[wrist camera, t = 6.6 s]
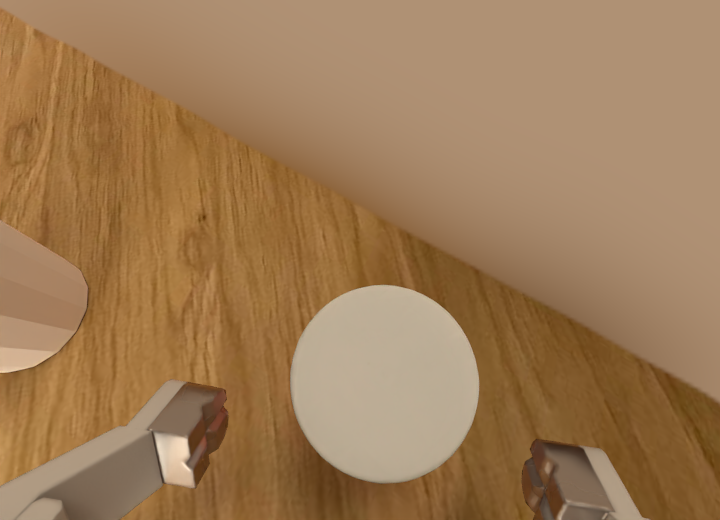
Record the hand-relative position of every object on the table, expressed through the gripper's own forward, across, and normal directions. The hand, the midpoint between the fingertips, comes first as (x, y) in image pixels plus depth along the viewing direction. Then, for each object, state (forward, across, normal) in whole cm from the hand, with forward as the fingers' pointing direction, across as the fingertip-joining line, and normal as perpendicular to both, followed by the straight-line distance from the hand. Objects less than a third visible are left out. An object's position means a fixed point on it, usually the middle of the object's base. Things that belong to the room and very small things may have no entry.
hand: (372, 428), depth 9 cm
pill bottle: (+5, 0, +3) cm, 6 cm away
